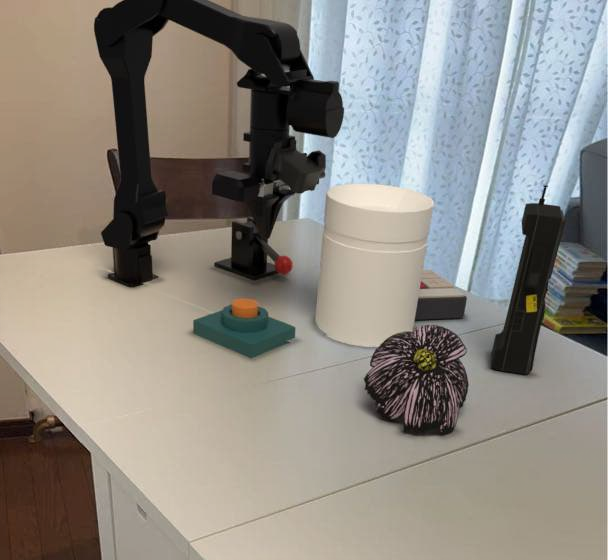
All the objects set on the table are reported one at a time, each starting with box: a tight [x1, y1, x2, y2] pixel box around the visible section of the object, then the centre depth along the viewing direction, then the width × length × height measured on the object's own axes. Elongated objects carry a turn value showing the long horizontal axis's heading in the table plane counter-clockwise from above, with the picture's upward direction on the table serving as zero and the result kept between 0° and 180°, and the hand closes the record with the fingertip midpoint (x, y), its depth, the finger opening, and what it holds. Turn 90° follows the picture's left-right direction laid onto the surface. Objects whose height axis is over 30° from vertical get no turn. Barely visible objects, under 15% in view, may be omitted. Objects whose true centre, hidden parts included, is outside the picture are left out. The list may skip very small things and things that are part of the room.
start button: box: [231, 298, 260, 318], centre depth 120 cm, size 4×4×2 cm
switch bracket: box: [213, 216, 279, 282], centre depth 145 cm, size 10×8×9 cm
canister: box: [314, 183, 435, 348], centre depth 124 cm, size 16×16×20 cm
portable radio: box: [490, 184, 566, 376], centre depth 114 cm, size 8×6×25 cm
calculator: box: [415, 269, 468, 321], centre depth 139 cm, size 11×4×15 cm
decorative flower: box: [363, 324, 470, 436], centre depth 104 cm, size 14×12×15 cm
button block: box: [192, 304, 296, 359], centre depth 122 cm, size 12×10×4 cm
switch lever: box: [243, 221, 294, 276], centre depth 142 cm, size 12×3×3 cm, turn 51°
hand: (265, 238), depth 124 cm, fingers closed
